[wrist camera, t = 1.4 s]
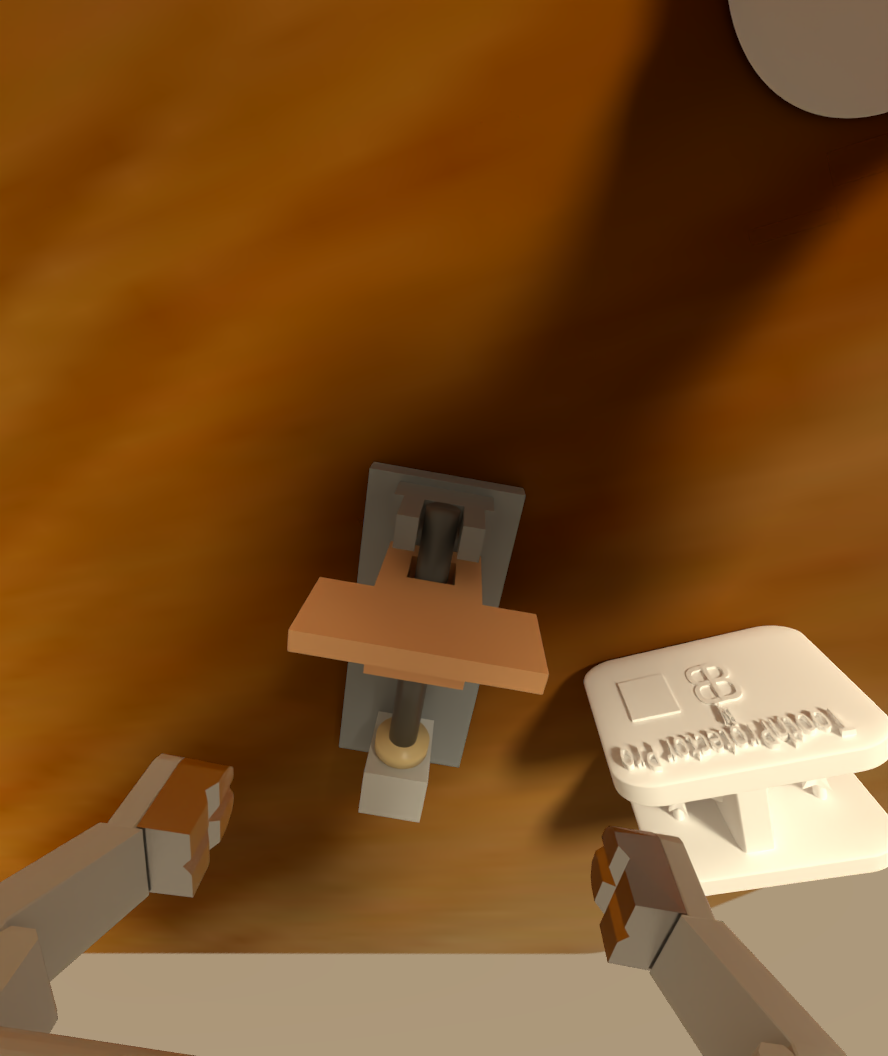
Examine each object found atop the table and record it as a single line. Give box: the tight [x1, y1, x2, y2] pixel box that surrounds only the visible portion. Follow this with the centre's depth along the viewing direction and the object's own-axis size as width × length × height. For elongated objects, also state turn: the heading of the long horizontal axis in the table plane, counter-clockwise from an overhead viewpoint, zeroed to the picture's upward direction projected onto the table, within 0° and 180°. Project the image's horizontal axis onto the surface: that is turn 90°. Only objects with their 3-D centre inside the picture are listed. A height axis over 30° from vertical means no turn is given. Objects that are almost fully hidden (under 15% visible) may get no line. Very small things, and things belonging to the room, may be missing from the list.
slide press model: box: [339, 462, 526, 822], centre depth 34 cm, size 24×10×7 cm, turn 171°
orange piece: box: [287, 541, 549, 695], centre depth 29 cm, size 6×12×11 cm, turn 81°
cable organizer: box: [584, 626, 888, 896], centre depth 33 cm, size 15×11×12 cm
